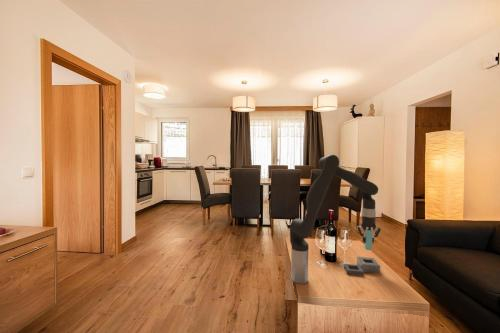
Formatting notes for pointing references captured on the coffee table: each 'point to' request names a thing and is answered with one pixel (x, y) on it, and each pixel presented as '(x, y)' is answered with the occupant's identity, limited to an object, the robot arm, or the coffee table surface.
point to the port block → (368, 264)
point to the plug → (368, 240)
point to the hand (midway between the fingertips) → (368, 242)
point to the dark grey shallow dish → (353, 269)
